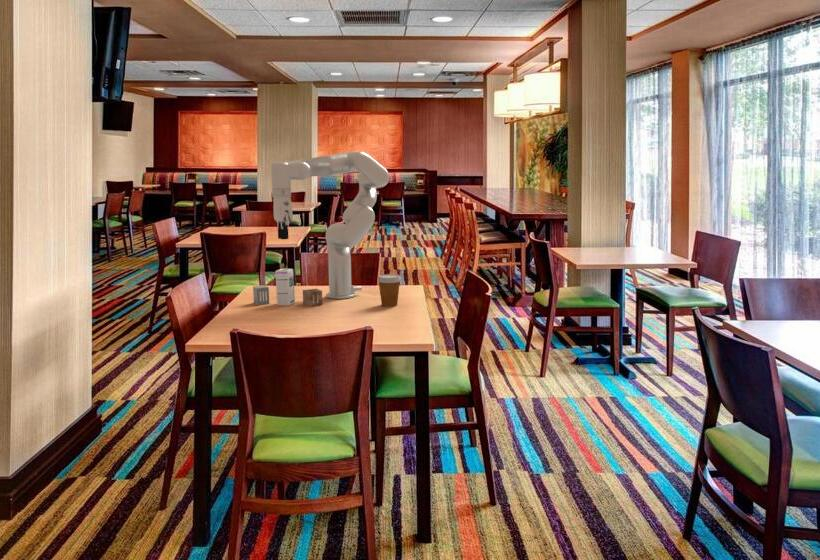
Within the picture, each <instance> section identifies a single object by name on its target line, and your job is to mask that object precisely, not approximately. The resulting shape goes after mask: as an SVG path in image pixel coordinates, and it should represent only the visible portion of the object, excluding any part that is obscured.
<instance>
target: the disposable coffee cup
mask: <svg viewBox="0 0 820 560" xmlns="http://www.w3.org/2000/svg"><path fill="white" fill-rule="evenodd" d="M376 280H377V282H378V287H379V293H380V294H379V295H380V300H381V306H382V307H385V306H393V307H396V305H397V306H398V301H399V293H400V282H401V280H402V279H401V277H400V275H399V274H391V273H389V274H388V273H387V274H380V275H378V277H377V279H376Z"/></svg>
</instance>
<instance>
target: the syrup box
mask: <svg viewBox="0 0 820 560" xmlns="http://www.w3.org/2000/svg"><path fill="white" fill-rule="evenodd" d="M274 273H275V289H276V305H277V306H286V307H288V306H289V307H290V306H291V305H293V304H295V303H296V300H295V299H296V298H295V297H296V296H295V295H296V294H295V281H294V279H295V278H294V277H295V276H294V269H293V268H280V269H277V270H275V272H274Z"/></svg>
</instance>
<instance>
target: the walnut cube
mask: <svg viewBox="0 0 820 560" xmlns="http://www.w3.org/2000/svg"><path fill="white" fill-rule="evenodd" d="M302 305H304V306H306V307H308V308H309V307H310V308H311V307H319V306H323V290H320V289H319V288H312V289H311V288H310V289H302Z"/></svg>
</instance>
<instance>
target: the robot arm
mask: <svg viewBox="0 0 820 560" xmlns="http://www.w3.org/2000/svg"><path fill="white" fill-rule="evenodd" d="M347 173H358V175H357V179H358V185H359V188H358V192H357V195H356V196H355V198H354V199H353V200H352V201H351V202H350V204H349V205H348V207H347V208H346V209H345V210H344V212H343V213H342V219H343V220H342V221H343V222H344V223H341V222H340V223H337V222H336V223H333V224H330V225H329V226H328V227H327V229H326V231H325V242H326V247H327V253H328V254H327V256H328V259H327V260H328V261H327V263H328V289H329V292H326V294H325V298H327V299H335V300H337V299H338V300H342V299H343V300H344V299H350V298H354V297H355V296H356V293H355V292H359V291H362V289H363V287H362V286H361V285H359V286H357V285H356V286H355V285H353V284H352V256H351V255H352V254H351V249H350V248H353V247H356V246H358V244H359V243H361V241H362V240H363V239H364V237H365V236H366V234H367V233H368V232H369V230H370V229H372V227H373V225H374V223H375V220H376V215H375V211H374V210H373V207H374V206H375V204H376V203H377V198H378V194H377V188H384V187H385V186H387V184H388V183H389V181H390V174H389V171H388V170H387V169H386V168H385V167H384V166H383V165H382V164H380V163H379V162H378V161H376V159H374V158H373V157H372V156H371V155H369V154H368V153H366V152H365V151H348V152H341V153H334V154H328V155H321V156H316V157H312V158H310V157H308V158H304V159H297V160H290V161H276V162H275V161H274V162H271V165H270V174H271V194H272V195H271V197H272V198H273V218H274V221H276V224H277V238H278V239H279V240H289V225H290V222H292V221H293V220H294V217H293V216H294V215H293V204H292V198H291V197H292V189H291V187H292V185H291V184H292V182H291V181H304V180H307V179H308V178H309V177H331V176H337V175H342V174H347Z"/></svg>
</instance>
